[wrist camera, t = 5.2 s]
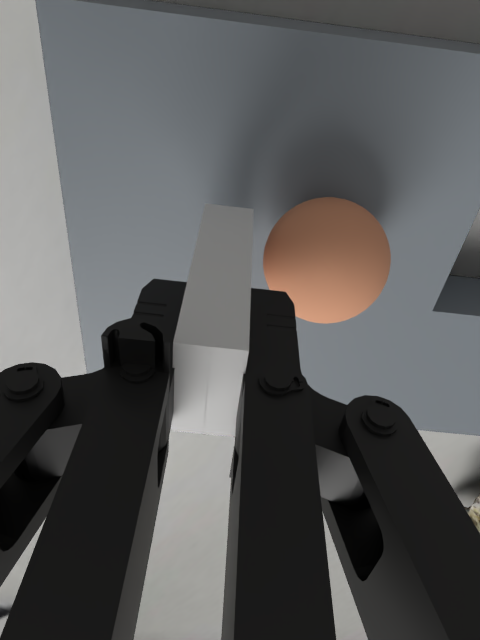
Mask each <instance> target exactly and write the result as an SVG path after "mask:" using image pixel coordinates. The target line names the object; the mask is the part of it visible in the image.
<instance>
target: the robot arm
mask: <svg viewBox="0 0 480 640" xmlns="http://www.w3.org/2000/svg"><path fill="white" fill-rule="evenodd" d="M253 210H254V209H249V208H241V207H232V206H223V205H215V204H206V203H205V207H204V211H203V216H202V220H201V224H200V229H199V233H198V237H197V242H196V246H195V250H194V255H193V259H192V263H191V267H190V272H189V276H188V280H187V282H181V281H172V280H163V279H153V280H152V281H150V282H149V283H148V284H147V285H146V286H144V287H143V288H142V290H141V293H140V295H139V298H138V301H137V304H136V306H135V309H134V313H133V315H132V317H131V318H129V319H125V320H122V321H118V322H116V323H114V324H112V325H111V326H109V327H107V328H106V330H105V331H104V332H103V334H102V335H101V342H102V351H103V361H104V368H102V369H100V370H98V371H95V372H93V373H88V374H84V375H78V376H71V377H64V378H61V377H60V375H59V374H58V372H57V371H56V370H55V369H54V368H52V367H50V366H48V365H46V364H41V363H33V362H32V363H24V364H18V365H15V366H12V367H10V368H7V369H5V370H3V371H2V372H0V587H1V585H2V583H3V582H4V580H5V579H6V577H7V576H8V574H9V573H10V571H11V570H12V568H13V567H14V565H15V564H16V562H17V561H18V559H19V558H20V556H21V555H22V553H23V552H24V550H25V549H26V547H27V545H28V544H29V542H30V541H31V539H32V538H33V536H34V535H35V533H36V532H37V530H38V529H39V527H40V526H41V524H42V523H43V521H44V520H45V518H46V520H45V522H44V525H43V528H42V530H41V533H40V535H39V538H38V541H37V543H36V546H35V548H34V551H33V554H32V556H31V559H30V561H29V564H28V567H27V569H26V572H25V574H24V577H23V580H22V582H21V585H20V587H19V590H18V593H17V595H16V598H15V600H14V603H13V606H12V608H11V611H10V613H9V616H8V619H7V621H6V624H5V627H4V629H3V632H2V634H1V637H0V640H133V639H134V634H135V628H136V623H137V618H138V612H139V607H140V602H141V596H142V591H143V585H144V580H145V575H146V569H147V564H148V559H149V553H150V548H151V543H152V537H153V532H154V526H155V521H156V516H157V510H158V505H159V500H160V494H161V489H162V484H163V478H164V473H165V467H166V462H167V457H168V446H169V433H170V428H171V431H177V432H187V433H198V434H208V435H218V436H229V437H235V446H234V452H233V458H232V464H231V470H230V477H231V491H230V507H229V523H228V539H227V556H226V572H225V588H224V604H223V620H222V637H221V640H336V634H335V625H334V615H333V606H332V597H331V588H330V578H329V569H328V560H327V550H326V541H325V532H324V523H323V514H324V516H325V519H326V522H327V525H328V528H329V530H330V533H331V536H332V539H333V542H334V544H335V547H336V550H337V553H338V556H339V559H340V561H341V564H342V567H343V570H344V573H345V575H346V578H347V581H348V584H349V587H350V589H351V592H352V595H353V598H354V601H355V604H356V606H357V609H358V612H359V615H360V618H361V620H362V623H363V626H364V629H365V632H366V634H367V637H368V640H480V533H479V531H478V529H477V528H476V526H475V524H474V523H473V521H472V519H471V518H470V516H469V515H468V513H467V511H466V510H465V508H464V506H463V505H462V503H461V501H460V500H459V498H458V496H457V495H456V493H455V492H454V490H453V488H452V487H451V485H450V483H449V482H448V480H447V478H446V477H445V475H444V473H443V472H442V470H441V469H440V467H439V465H438V464H437V462H436V460H435V459H434V457H433V455H432V454H431V452H430V450H429V449H428V447H427V445H426V444H425V442H424V441H423V439H422V437H421V436H420V434H419V432H418V431H417V429H416V427H415V426H414V424H413V422H412V421H411V419H410V418H409V416H408V415H407V414H406V413H405V412H404V411H403V409H402V408H401V407H399V406H398V405H396V404H395V403H393V402H392V401H390V400H387V399H385V398H382V397H379V396H371V395H364V396H360V397H356V398H354V399H353V400H352V401H351V402H350V403H349V404H348V405H346V404H343V403H341V402H338V401H335V400H332V399H330V398H327V397H325V396H323V395H321V394H319V393H318V392H316V391H315V390H314V389H312V388H311V387H310V386H309V385H308V383H307V381H306V378H305V377H304V376H303V375H302V373H301V369H300V358H299V348H298V337H297V330H296V328H297V327H296V319H295V317H296V316H295V306H294V303H293V301H292V300H291V299H290V297H289V296H288V294H287V293H286V292H284V291H275V290H266V289H257V288H251V272H252V241H253ZM322 511H323V513H322Z"/></svg>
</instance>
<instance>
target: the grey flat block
mask: <svg viewBox="0 0 480 640" xmlns="http://www.w3.org/2000/svg"><path fill="white" fill-rule="evenodd" d="M35 1H36V9H37V16H38V23H39V30H40V38H41V45H42V52H43V59H44V67H45V74H46V81H47V88H48V95H49V103H50V110H51V117H52V124H53V132H54V139H55V146H56V153H57V161H58V168H59V175H60V182H61V190H62V197H63V204H64V211H65V218H66V226H67V233H68V240H69V247H70V255H71V262H72V269H73V276H74V284H75V291H76V298H77V305H78V313H79V320H80V327H81V334H82V341H83V349H84V356H85V363H86V370H87V374H88V373H93V372H95V371H98V370H100V369H102V368H104V361H103V351H102V342H101V335H102V334H103V332H104V331H105V330H106V328H107V327H109V326H111V325H112V324H114V323H116V322H118V321H122V320H125V319H129V318H131V317H132V315H133V313H134V309H135V306H136V304H137V301H138V298H139V295H140V293H141V290H142V288H143V287H144V286H146V285H147V284H148V283H149V282H150V281H152V280H153V279H163V280H172V281H181V282H187V280H188V276H189V272H190V267H191V263H192V259H193V255H194V250H195V246H196V242H197V237H198V233H199V229H200V224H201V220H202V216H203V211H204V207H205V203H206V204H215V205H223V206H232V207H241V208H249V209H254V210H253V241H252V272H251V288H257V289H266V290H270V289H269V287H268V285H267V282H266V279H265V275H264V269H263V255H264V249H265V245H266V242H267V239H268V236H269V234H270V232H271V230H272V229H273V227H274V225H275V224H276V223H277V222H278V220H279V219H280V218H281V217H282V216H283V215H284V214H285V213H286V212H288V211H289V210H290V209H292V208H293V207H295V206H296V205H298V204H300V203H303V202H305V201H308V200H311V199H315V198H322V197H335V198H341V199H346V200H349V201H351V202H354V203H356V204H358V205H360V206H362V207H363V208H365V209H366V210H367V211H369V212H370V213H371V214H372V215H373V216H374V217H375V218H376V220H377V221H378V222H379V223H380V225H381V226H382V228H383V230H384V232H385V234H386V236H387V239H388V242H389V246H390V253H391V264H390V271H389V275H388V279H387V282H386V284H385V286H384V288H383V290H382V292H381V293H380V295H379V296H378V298H377V299H376V300H375V301H374V302H373V303H372V304H371V305H370V306H369V307H368V308H367V309H366V310H365V311H363V312H362V313H360V314H358V315H357V316H355V317H352V318H350V319H348V320H345V321H341V322H337V323H327V324H325V323H314V322H309V321H306V320H304V319H301V318H298V317H295V319H296V327H297V328H296V330H297V337H298V348H299V358H300V369H301V373H302V375H303V376H304V377H305V378H306V381H307V383H308V385H309V386H310V387H311V388H312V389H314V390H315V391H316V392H318V393H319V394H321V395H323V396H325V397H327V398H330V399H332V400H335V401H338V402H341V403H343V404H346V405H348V404H349V403H350V402H351V401H352V400H353V399H354V398H356V397H360V396H364V395H371V396H379V397H382V398H385V399H387V400H390V401H392V402H393V403H395V404H396V405H398V406H399V407H401V408H402V409H403V411H404V412H405V413H406V414H407V415H408V416H409V418H410V419H411V421H412V422H413V424H414V426H415V427H416V429H417V430H424V431H434V432H445V433H455V434H466V435H476V436H480V279H479V278H470V277H461V276H451V275H449V274H450V271H451V269H452V267H453V265H454V263H455V261H456V258H457V256H458V254H459V252H460V250H461V248H462V245H463V243H464V241H465V239H466V237H467V235H468V232H469V230H470V228H471V226H472V224H473V222H474V219H475V217H476V215H477V213H478V211H479V209H480V44H475V43H467V42H460V41H452V40H445V39H437V38H430V37H422V36H415V35H407V34H400V33H392V32H384V31H377V30H369V29H362V28H354V27H347V26H339V25H332V24H324V23H317V22H309V21H302V20H294V19H287V18H279V17H272V16H264V15H257V14H249V13H242V12H234V11H226V10H219V9H211V8H204V7H196V6H189V5H181V4H174V3H166V2H159V1H151V0H35Z"/></svg>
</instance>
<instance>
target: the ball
mask: <svg viewBox="0 0 480 640" xmlns="http://www.w3.org/2000/svg"><path fill="white" fill-rule="evenodd" d="M390 264H391V253H390V246H389V242H388V239H387V236H386V234H385V232H384V230H383V228H382V226H381V225H380V223H379V222H378V221H377V220H376V218H375V217H374V216H373V215H372V214H371V213H370V212H369V211H367V210H366V209H365V208H363V207H362V206H360V205H358V204H356V203H354V202H351V201H349V200H346V199H341V198H335V197H322V198H315V199H311V200H308V201H305V202H303V203H300V204H298V205H296V206H295V207H293V208H292V209H290V210H289V211H288V212H286V213H285V214H284V215H283V216H282V217H281V218H280V219H279V220H278V222H277V223H276V224H275V225H274V227H273V229H272V230H271V232H270V234H269V236H268V239H267V242H266V245H265V249H264V255H263V269H264V275H265V279H266V282H267V285H268V287H269V289H270V290H275V291H284V292H286V293H287V294H288V296H289V297H290V299H291V300H292V301H293V303H294V306H295V316H296V317H298V318H301V319H304V320H306V321H309V322H314V323H325V324H327V323H337V322H341V321H345V320H348V319H350V318H352V317H355V316H357V315H358V314H360V313H362V312H363V311H365V310H366V309H367V308H368V307H369V306H370V305H371V304H372V303H373V302H374V301H375V300H376V299H377V298H378V296H379V295H380V293H381V292H382V290H383V288H384V286H385V284H386V282H387V279H388V275H389V271H390Z"/></svg>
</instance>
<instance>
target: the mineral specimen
mask: <svg viewBox="0 0 480 640" xmlns="http://www.w3.org/2000/svg"><path fill="white" fill-rule="evenodd" d="M464 508H465V510H466V511H467V513H468V515H469V516H470V518H471V519H472V521H473V523H474V524H475V526H476V528H477V529H478V531H479V533H480V494H479V497H478V498H476V499H475V501H474V503H473V505H472V506H470V507H469V508H467V507H464Z"/></svg>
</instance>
